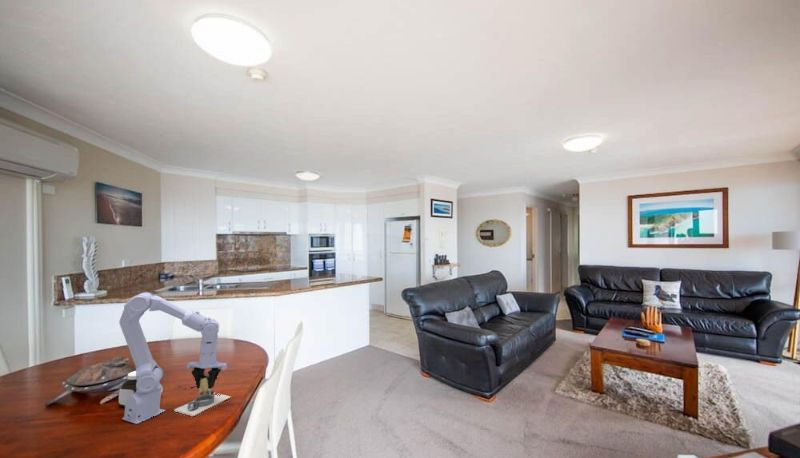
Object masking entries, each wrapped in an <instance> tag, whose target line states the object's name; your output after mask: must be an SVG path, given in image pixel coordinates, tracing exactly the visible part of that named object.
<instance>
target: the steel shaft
mask: <svg viewBox="0 0 800 458" xmlns="http://www.w3.org/2000/svg"><path fill="white" fill-rule="evenodd" d="M188 403H189V404H188ZM188 403H187V404H188V407H187V409H188V410H194V411H195V410H196V409H198V405H199V402H198V401H196V402H192V401H189V402H188Z"/></svg>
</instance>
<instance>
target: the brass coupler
mask: <svg viewBox="0 0 800 458" xmlns="http://www.w3.org/2000/svg"><path fill="white" fill-rule="evenodd" d="M211 390H212V388H211V389H209V375H206V374H205V373H204V374H203V375H202V377H200V384H199V388H198V395H199V396H202V395H206V394H209V393H210V392H211Z"/></svg>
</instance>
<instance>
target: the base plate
mask: <svg viewBox="0 0 800 458" xmlns="http://www.w3.org/2000/svg"><path fill="white" fill-rule="evenodd" d="M215 393H216V392H214V394H215ZM218 394H219V395H220V394H221V393H218ZM218 394H217V395H218ZM217 395H210V394H208V395H199V396H197V397H195V398H194V400H192V401H191V402H196V401H198V402H199V405H198V409H196V410H195V411H194V410H188V409H187V407H188V404H189V403H190V402H188V403H186V404H184V405H181V406H178V407H177V408H173V410H174V411H175V412H179V413H182V414H186V415H190V416H195V415H197V414H199V413H201V412H202V411H204V410H206V409H208V408H210V407H212V406H214V405H216V404H218V403H220V402H222V401H224V400H226V399H228V398H230V397H231V395H230V396H229V395H225V394H221V395H220V396H219V395H218V396H217ZM174 411H173V412H174ZM175 412H174V413H175ZM182 414H181V415H182Z"/></svg>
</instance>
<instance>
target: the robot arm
mask: <svg viewBox="0 0 800 458" xmlns="http://www.w3.org/2000/svg"><path fill="white" fill-rule="evenodd" d="M147 311H149V312H157V311H161V312H162V313H165V314H168V315H170V316H173V317H175V318H177V319H180V320H181V323H182V325H183V326H185V327H187V328H189V329H192V330H193V331H196V332H199V333H201V334H200V335H201V341H200V346H199V347H200V349H199V358H198V359H199V360H198V361H190V362H189V363H187V365H186V369H187V370H189V369H192V370H191V374H192V376H193V379H194V378H195V381H196V385H197V386H196V389H199V384H200V377H202V375H203V374H205V370H206V369H207V370H209V371H208V372H207V374H209V389H211V390H212V389H214V386H215V382H216V380H217V379H216V378H217V376H219V375H220V372H221V371H222V370H223V371H225V370H226V369H227V368H228V362H222V361H221V362H220V361H217V352H218V341H219V339H218V335H219V331H220V330H219V329H220V323H219V322H218V321H217V320H216V319H212V318H211V317H207V316H204V315H203V314H200V311H199V310H196V311H194V310H190V311H187V310H185V309H183V308H181V307H180V306H177V305H175V304H174V303H172V302H171V301H168V300H167V299H165V298H163V297H161V296H159V295H154V294H153V293H152V292H146V291H145V292H140V293H138V294H136V295H134V296H132V297H130V299H129V300H128V301H127V302H126V303H125V304H124V306H123V310H122V312H121V315H120V319H119V320H118V321H119V326H120V328H121V331H122V334H123V336H124V338H125V339H124V340H125V342H126V345H127V347H128V349H129V353H130V355H131V358H132V362H133V363H134V366H135V371H136V378H137V383H136V388H137V391H136V392H135V393H134V394H133V395H131V396H129V397H128V398H127V400H126V405H125V407H124V413H123V414H124V415H123V417H122V420H124V421H127V422H130V423H131V424H132V423H133V424H135V425H137V424H140V423H142V421H143V422H144V421H147V420H149V419H152V418H153V416H154V417H155V416H158V415H161V414H163V413H165V412H166V409H162V408H160V406H161V405H160V404H161V397H162V393H161V388H163V386H162V384H161V382H160V381H161V379H162V378H163V376H164V370H163V369H162V367H160V366H159V365H158V364H157V362H156V361H155V359H154V358H153V355H152V353H151V350H150V347H149V345H148V342H147V339H146V337H145V334H144V332H143V329H142V326H141V323H140V319H141V318H142V317H143V315H144V314H145V313H146V312H147ZM164 411H165V412H164ZM162 412H163V413H162ZM160 413H161V414H160ZM151 417H152V418H151Z"/></svg>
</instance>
